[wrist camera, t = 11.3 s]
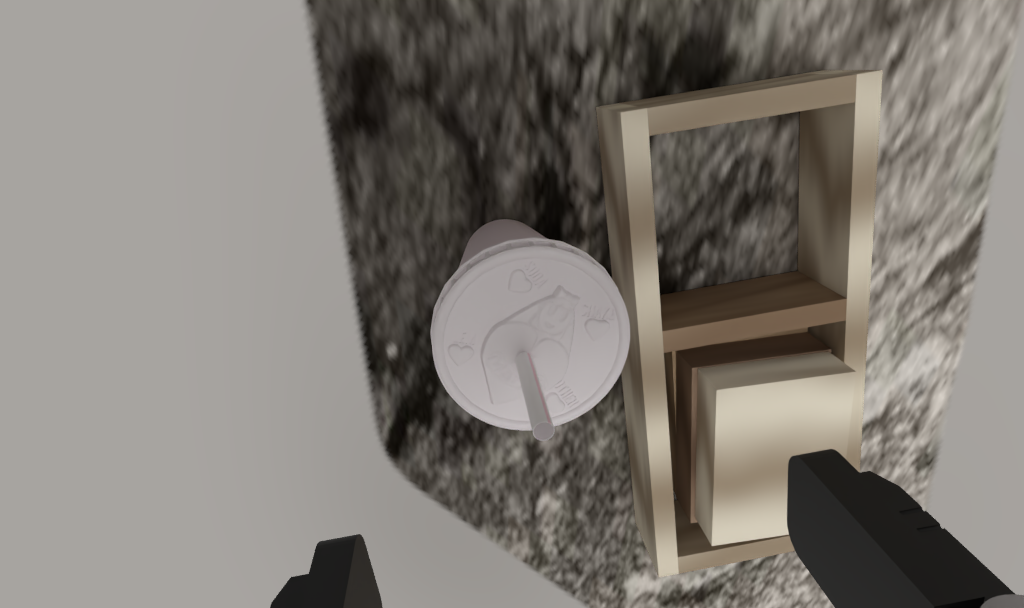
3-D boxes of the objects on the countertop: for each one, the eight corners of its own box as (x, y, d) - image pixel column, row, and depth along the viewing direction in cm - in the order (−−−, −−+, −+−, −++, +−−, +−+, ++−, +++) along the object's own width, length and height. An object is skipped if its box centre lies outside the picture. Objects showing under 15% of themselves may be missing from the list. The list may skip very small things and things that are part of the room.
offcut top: (698, 368, 28) (716, 390, 26) (828, 351, 28) (856, 371, 26) (695, 517, 31) (711, 546, 29) (814, 499, 31) (837, 527, 29)
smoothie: (407, 281, 29) (378, 456, 16) (482, 159, 27) (519, 241, 14) (524, 347, 31) (586, 554, 18) (601, 236, 29) (731, 371, 16)
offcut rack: (595, 106, 27) (620, 112, 23) (822, 70, 28) (882, 70, 24) (635, 523, 35) (658, 577, 31) (811, 489, 35) (855, 539, 32)
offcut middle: (675, 349, 30) (691, 368, 28) (807, 331, 30) (831, 349, 28) (676, 497, 33) (690, 523, 31) (795, 479, 33) (816, 503, 31)
